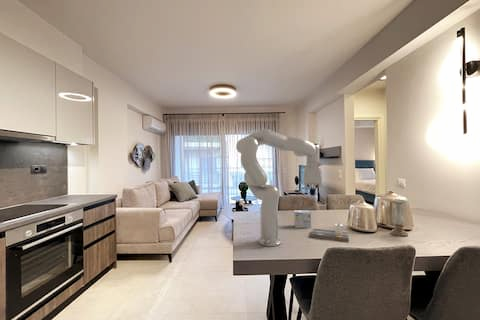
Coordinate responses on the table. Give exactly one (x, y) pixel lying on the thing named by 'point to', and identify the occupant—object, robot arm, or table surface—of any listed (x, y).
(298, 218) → the light bulb box
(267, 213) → the robot arm
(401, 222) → the candle holder
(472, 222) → the table surface
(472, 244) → the table surface
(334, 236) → the switch board
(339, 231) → the switch tab
